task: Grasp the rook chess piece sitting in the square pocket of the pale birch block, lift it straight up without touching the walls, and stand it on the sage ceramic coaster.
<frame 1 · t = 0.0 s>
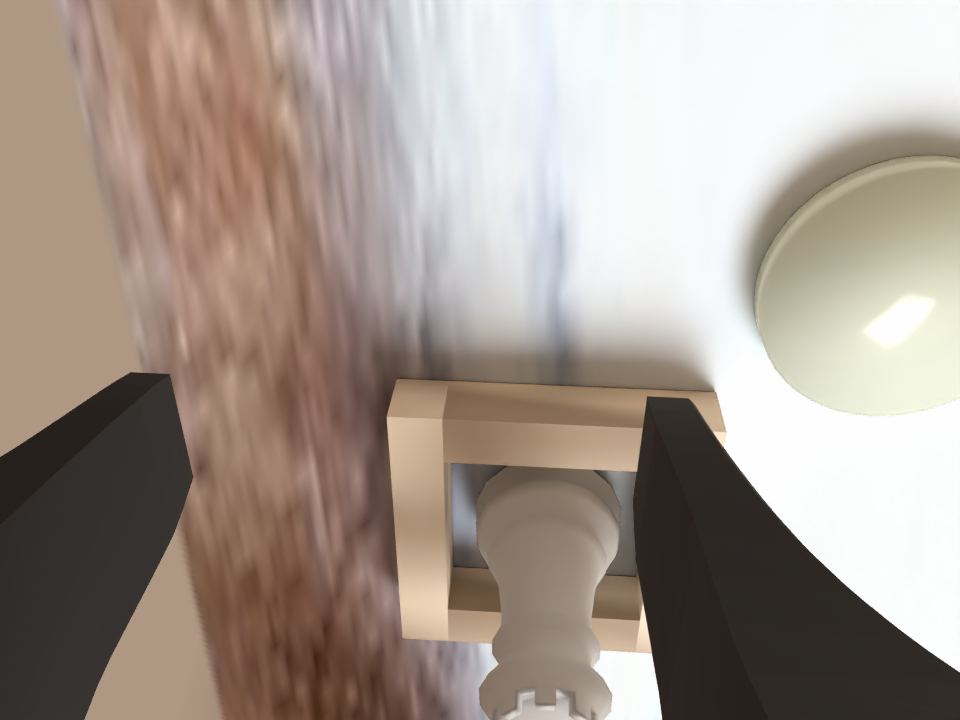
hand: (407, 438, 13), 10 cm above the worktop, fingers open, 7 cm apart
coaster: (895, 287, 23), on the worktop
pocket block: (547, 504, 27), on the worktop
rook chess piece: (547, 498, 28), resting in pocket block
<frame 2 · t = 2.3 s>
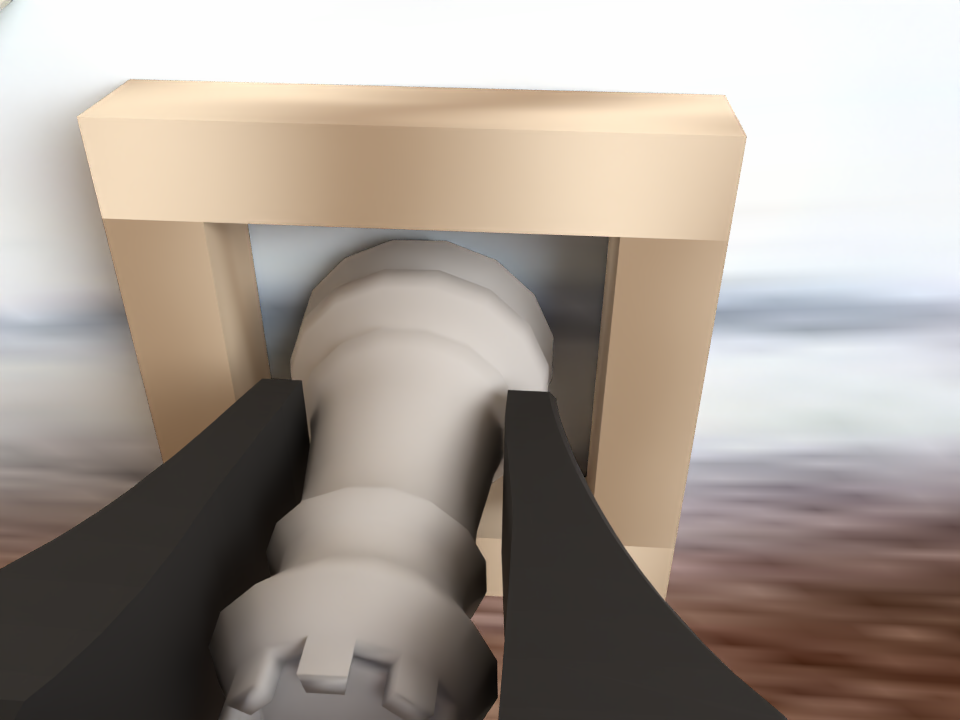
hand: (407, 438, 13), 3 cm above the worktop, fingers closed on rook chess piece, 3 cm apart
pocket block: (429, 340, 16), on the worktop
rook chess piece: (430, 334, 16), resting in pocket block, touching gripper
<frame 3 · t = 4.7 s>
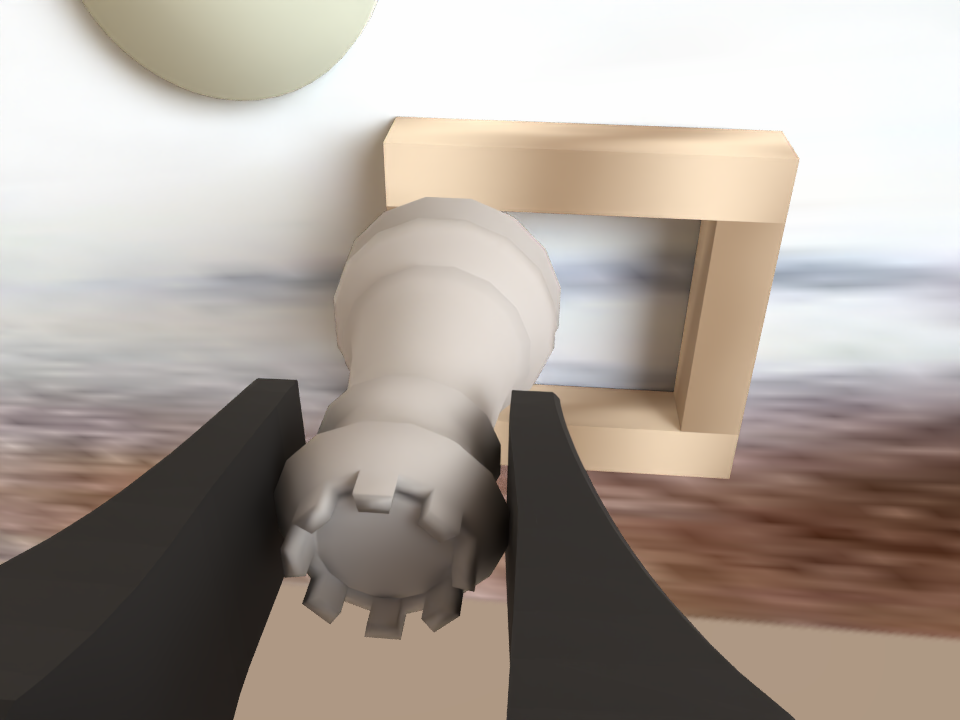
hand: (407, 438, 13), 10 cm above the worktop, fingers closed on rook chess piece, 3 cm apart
pocket block: (573, 292, 23), on the worktop
rook chess piece: (453, 287, 18), point 4 cm above the worktop, touching gripper
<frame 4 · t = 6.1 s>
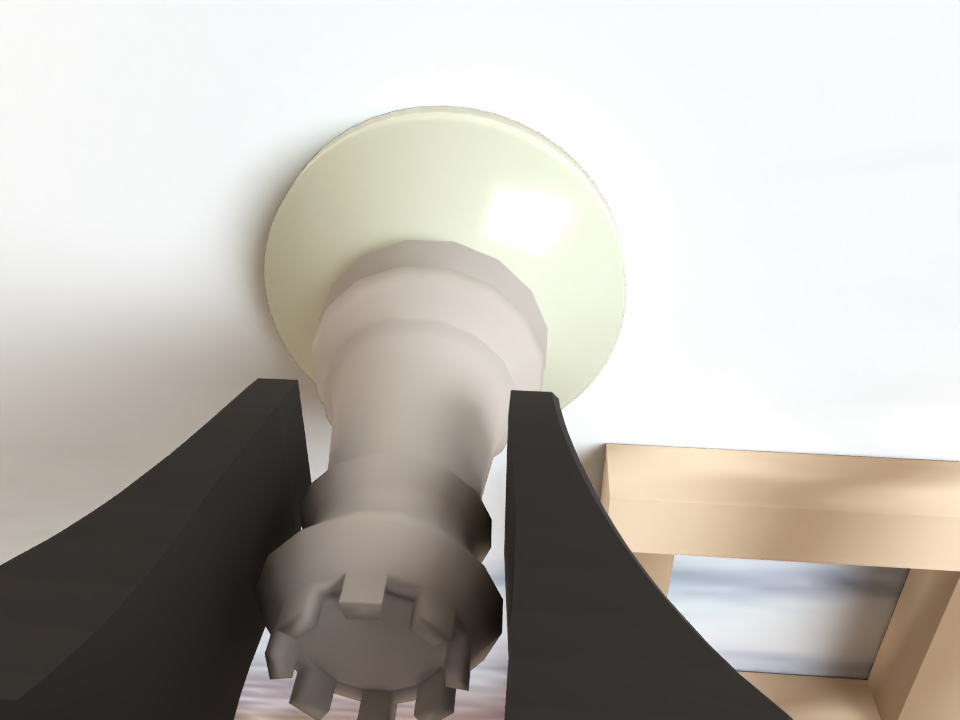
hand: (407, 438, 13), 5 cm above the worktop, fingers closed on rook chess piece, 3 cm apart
coaster: (447, 278, 18), on the worktop
pocket block: (773, 594, 22), on the worktop
rook chess piece: (436, 325, 18), point 1 cm above the worktop, touching coaster, gripper
when the fingers open (5 cm above the worktop, at t = 6.8 s): rook chess piece stays where it is, resting on coaster.
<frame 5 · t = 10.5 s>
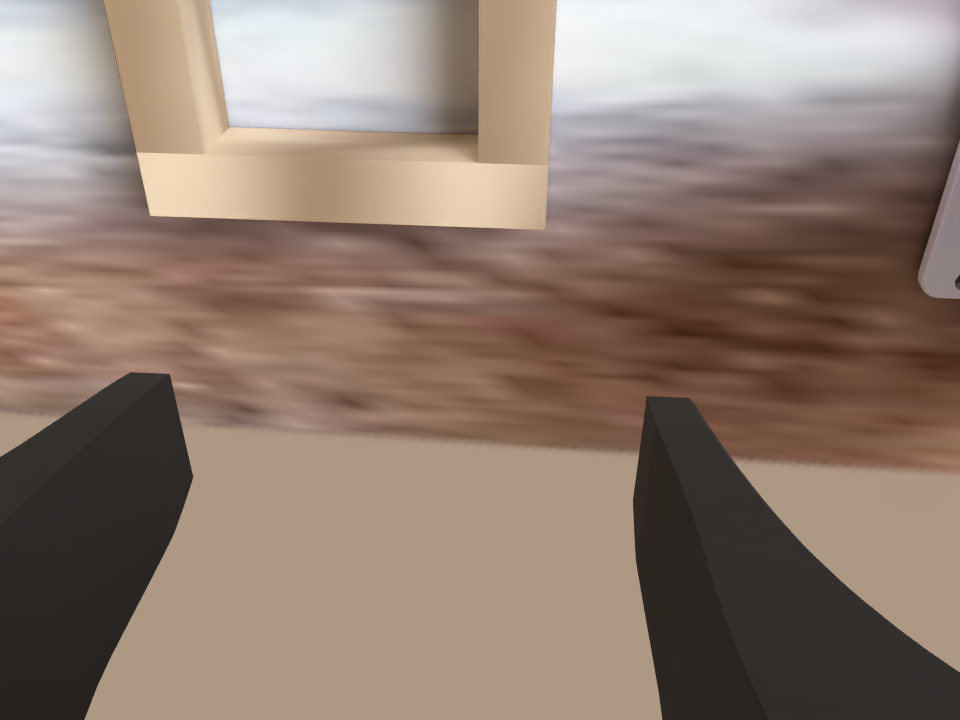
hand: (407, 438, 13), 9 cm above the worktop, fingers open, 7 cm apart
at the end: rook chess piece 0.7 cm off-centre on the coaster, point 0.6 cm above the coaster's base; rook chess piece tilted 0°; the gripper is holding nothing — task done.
